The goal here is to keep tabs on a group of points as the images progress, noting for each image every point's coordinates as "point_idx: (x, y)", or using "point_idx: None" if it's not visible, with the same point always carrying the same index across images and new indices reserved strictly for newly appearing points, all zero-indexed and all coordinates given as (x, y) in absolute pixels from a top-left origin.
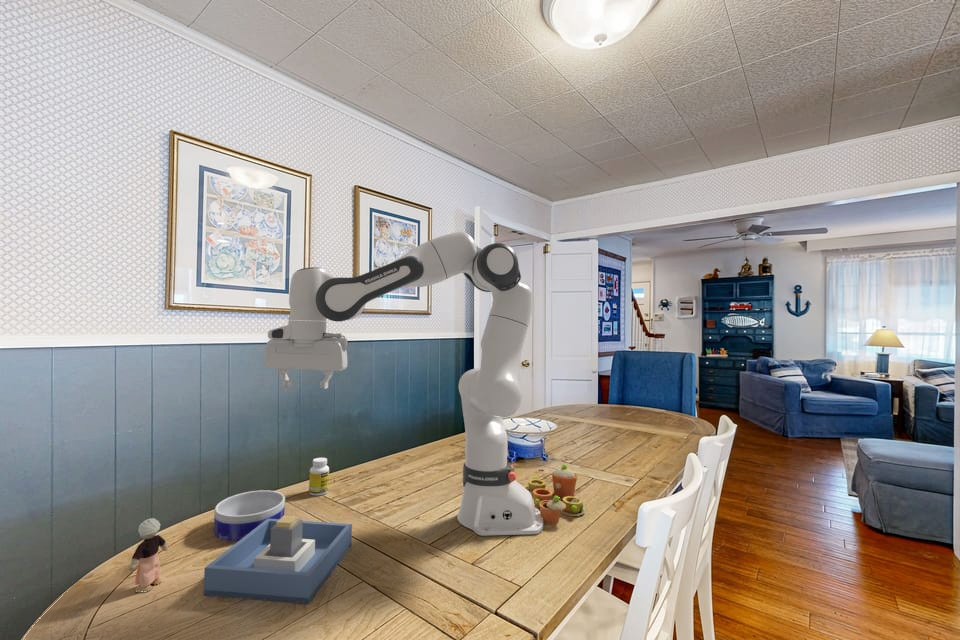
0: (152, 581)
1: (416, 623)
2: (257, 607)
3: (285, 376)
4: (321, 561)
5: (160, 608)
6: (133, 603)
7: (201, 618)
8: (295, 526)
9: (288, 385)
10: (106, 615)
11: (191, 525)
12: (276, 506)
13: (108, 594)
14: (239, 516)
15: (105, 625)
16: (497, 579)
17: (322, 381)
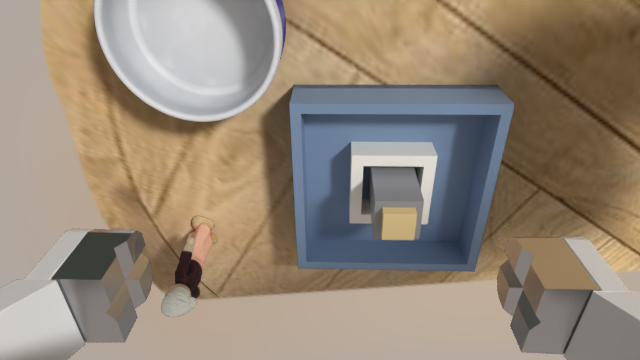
0: (210, 238)
1: (625, 260)
2: None
3: (24, 352)
4: (482, 238)
5: (265, 264)
6: (221, 260)
7: (333, 274)
8: (420, 227)
9: (145, 292)
10: (212, 278)
11: (65, 41)
12: (277, 53)
13: (169, 249)
14: (223, 118)
15: (229, 290)
16: None
17: (553, 328)
